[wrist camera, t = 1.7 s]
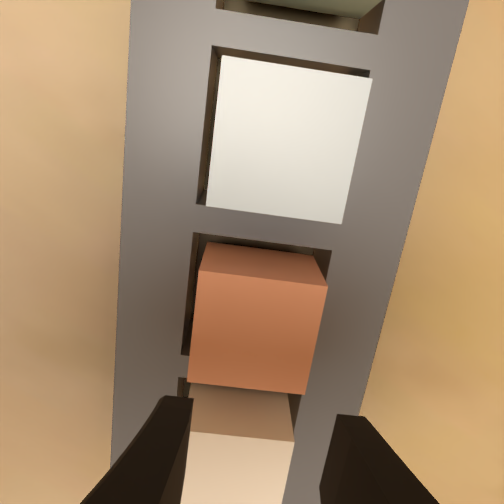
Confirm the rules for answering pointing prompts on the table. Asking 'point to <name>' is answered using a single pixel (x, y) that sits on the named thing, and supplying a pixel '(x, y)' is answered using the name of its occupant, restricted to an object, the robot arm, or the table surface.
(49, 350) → the table surface
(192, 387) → the key ivory
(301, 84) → the white square block
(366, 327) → the grey slotted tray
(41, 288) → the table surface
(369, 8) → the key sage
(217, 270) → the key terracotta
